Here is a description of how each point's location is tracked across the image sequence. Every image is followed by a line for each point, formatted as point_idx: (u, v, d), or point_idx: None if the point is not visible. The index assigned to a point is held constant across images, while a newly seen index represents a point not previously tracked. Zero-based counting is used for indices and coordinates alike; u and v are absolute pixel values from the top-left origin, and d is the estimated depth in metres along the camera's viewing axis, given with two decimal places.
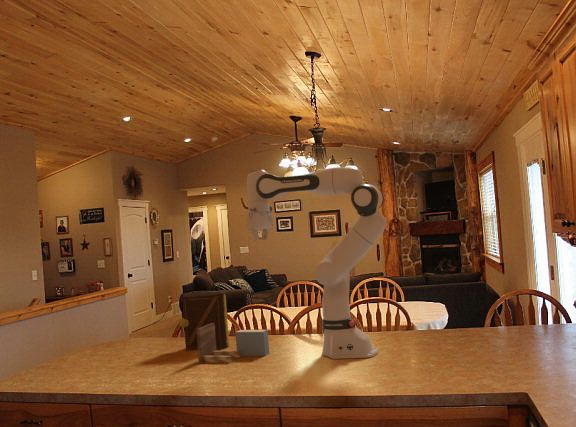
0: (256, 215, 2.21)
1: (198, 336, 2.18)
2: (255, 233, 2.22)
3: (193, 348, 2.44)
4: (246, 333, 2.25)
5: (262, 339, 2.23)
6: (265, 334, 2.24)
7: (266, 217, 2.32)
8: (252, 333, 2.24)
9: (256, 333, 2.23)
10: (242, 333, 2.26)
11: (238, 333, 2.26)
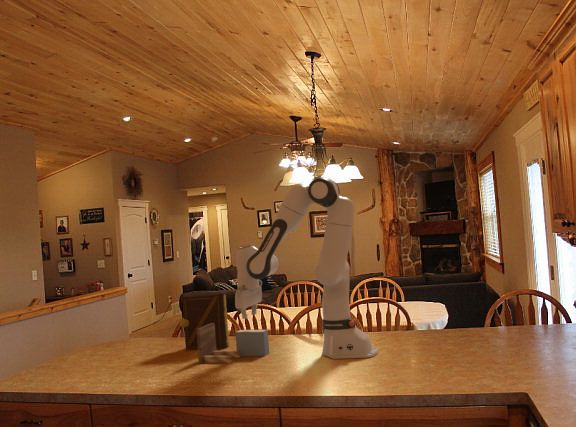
0: (245, 293, 2.20)
1: (198, 336, 2.18)
2: (243, 311, 2.21)
3: (193, 348, 2.44)
4: (246, 333, 2.25)
5: (262, 339, 2.23)
6: (265, 334, 2.24)
7: (255, 292, 2.31)
8: (252, 333, 2.24)
9: (256, 333, 2.23)
10: (242, 333, 2.26)
11: (238, 333, 2.26)
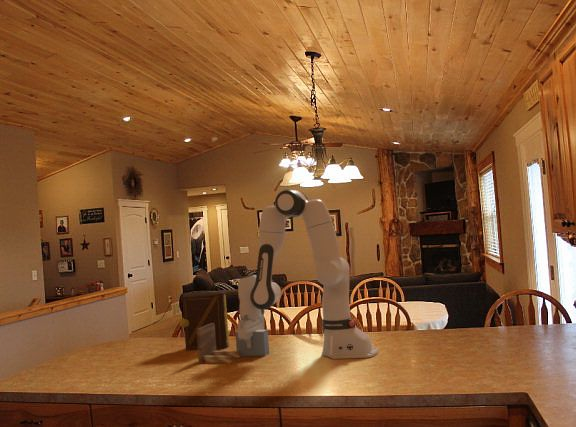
0: (247, 324, 2.20)
1: (198, 336, 2.18)
2: (248, 340, 2.22)
3: (193, 348, 2.44)
4: None
5: (262, 339, 2.23)
6: (265, 334, 2.24)
7: (258, 321, 2.30)
8: None
9: (256, 333, 2.23)
10: None
11: None
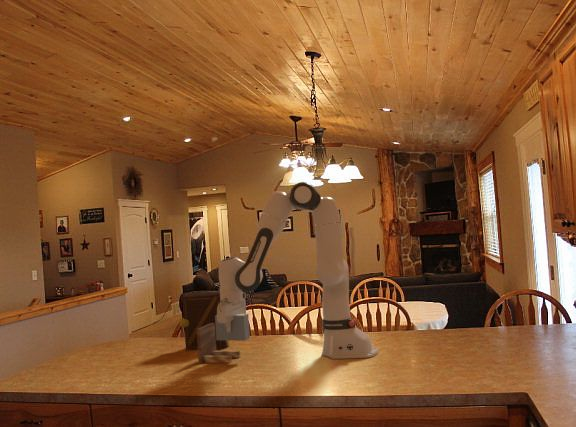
0: (227, 307, 2.13)
1: (198, 336, 2.18)
2: (228, 324, 2.15)
3: (193, 348, 2.44)
4: None
5: (242, 323, 2.16)
6: (245, 318, 2.17)
7: (239, 305, 2.23)
8: None
9: (236, 317, 2.17)
10: None
11: None
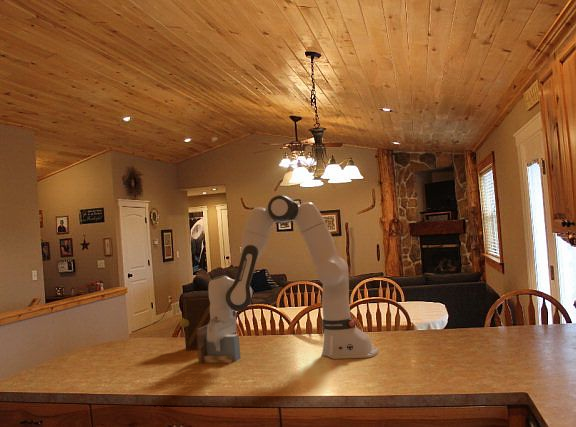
0: (217, 326, 2.14)
1: (198, 336, 2.18)
2: (217, 343, 2.16)
3: (193, 348, 2.44)
4: None
5: (233, 344, 2.17)
6: (236, 339, 2.19)
7: (229, 323, 2.25)
8: None
9: (226, 338, 2.18)
10: None
11: None
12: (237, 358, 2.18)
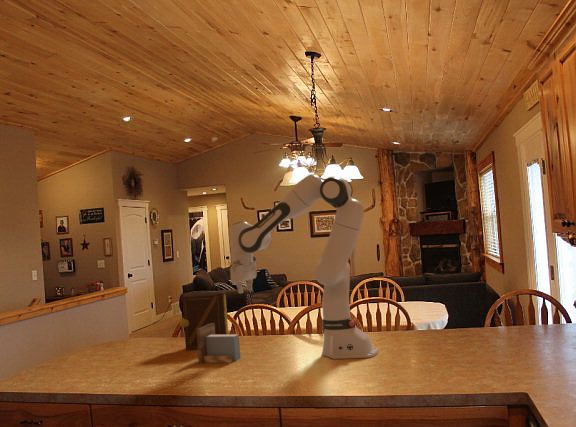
0: (240, 268, 2.22)
1: (198, 336, 2.18)
2: (239, 286, 2.23)
3: (193, 348, 2.44)
4: (216, 338, 2.20)
5: (233, 344, 2.17)
6: (236, 339, 2.19)
7: (250, 268, 2.33)
8: (222, 338, 2.19)
9: (226, 338, 2.18)
10: (212, 338, 2.20)
11: (208, 338, 2.21)
12: (237, 358, 2.18)
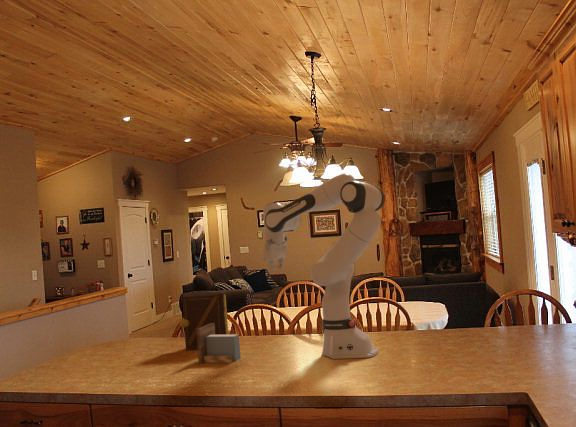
0: (273, 246, 2.34)
1: (198, 336, 2.18)
2: (271, 263, 2.35)
3: (193, 348, 2.44)
4: (216, 338, 2.20)
5: (233, 344, 2.17)
6: (236, 339, 2.19)
7: (281, 247, 2.45)
8: (222, 338, 2.19)
9: (226, 338, 2.18)
10: (212, 338, 2.20)
11: (208, 338, 2.21)
12: (237, 358, 2.18)
